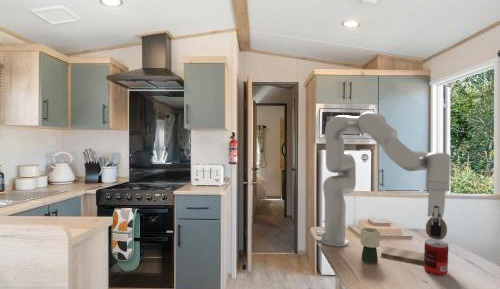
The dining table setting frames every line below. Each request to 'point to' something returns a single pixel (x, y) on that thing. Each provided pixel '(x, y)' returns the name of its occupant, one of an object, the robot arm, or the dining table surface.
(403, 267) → the dining table surface
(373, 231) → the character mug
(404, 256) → the walnut board
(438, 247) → the canned food
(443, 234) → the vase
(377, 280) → the dining table surface
